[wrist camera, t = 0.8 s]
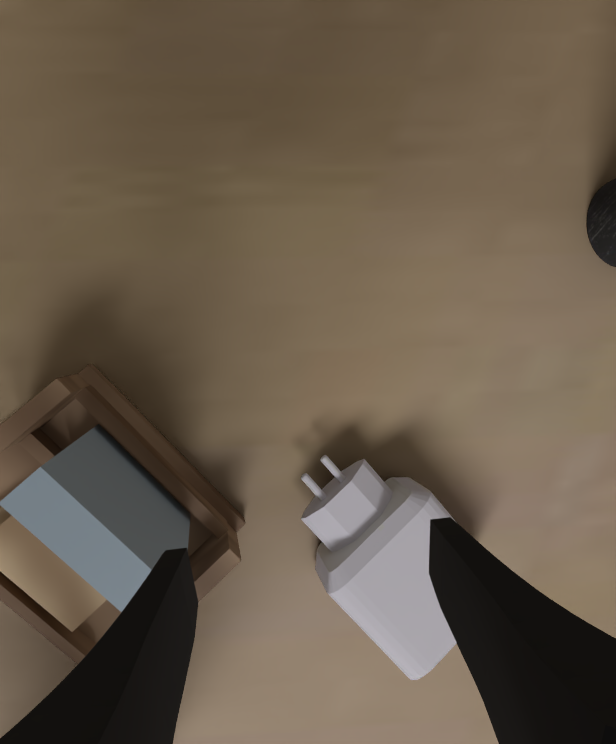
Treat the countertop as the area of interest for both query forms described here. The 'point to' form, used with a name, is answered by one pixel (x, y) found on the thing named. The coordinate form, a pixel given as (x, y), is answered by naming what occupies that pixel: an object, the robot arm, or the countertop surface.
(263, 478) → the countertop surface
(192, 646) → the robot arm
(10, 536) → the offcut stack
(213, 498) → the tray
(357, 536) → the charger
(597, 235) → the travel mug
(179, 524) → the board
